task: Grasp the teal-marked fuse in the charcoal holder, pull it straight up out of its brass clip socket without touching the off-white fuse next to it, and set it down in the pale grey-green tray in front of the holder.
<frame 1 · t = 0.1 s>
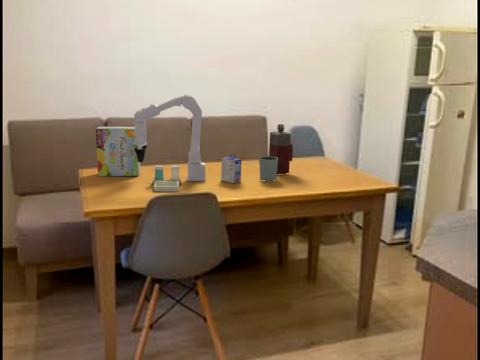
hand: (141, 160, 258), 10 cm above the table, tool pointing down, fingers open, 7 cm apart
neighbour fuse: (175, 181, 254), point 1 cm above the table, touching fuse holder
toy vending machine: (280, 173, 284), on the table
marked fuse: (159, 181, 253), point 1 cm above the table, touching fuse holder
tray: (166, 188, 244), on the table
snack box: (119, 175, 269), on the table
drinking glass: (267, 180, 267), on the table
ink cartridge box: (231, 181, 262), on the table
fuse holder: (167, 183, 254), on the table
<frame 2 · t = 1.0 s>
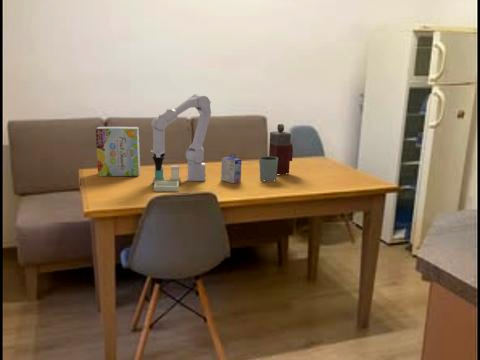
hand: (158, 168, 251), 8 cm above the table, tool pointing down, fingers open, 7 cm apart
nothing on the table moved.
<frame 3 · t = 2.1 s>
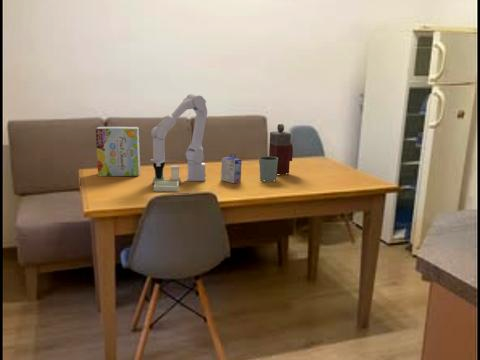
hand: (159, 177, 252), 3 cm above the table, tool pointing down, fingers closed on marked fuse, 3 cm apart
marked fuse: (159, 181, 253), point 1 cm above the table, touching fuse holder, gripper
everything else where it was.
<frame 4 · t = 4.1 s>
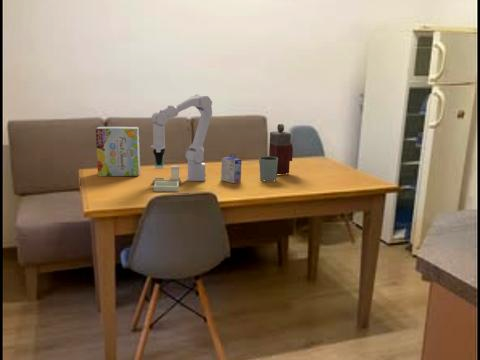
hand: (159, 164, 250), 10 cm above the table, tool pointing down, fingers closed on marked fuse, 3 cm apart
marked fuse: (159, 168, 251), point 8 cm above the table, touching gripper
everything else where it was.
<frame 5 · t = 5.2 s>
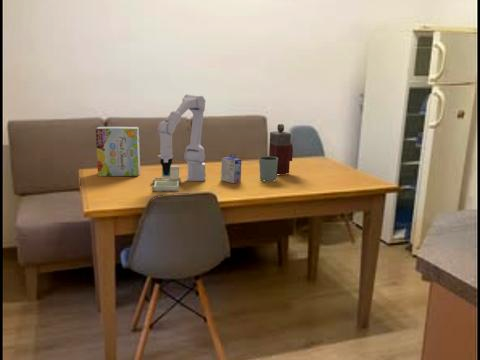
hand: (166, 174, 242), 7 cm above the table, tool pointing down, fingers closed on marked fuse, 3 cm apart
marked fuse: (166, 178, 243), point 5 cm above the table, touching gripper
everything else where it was.
when the fingers open (4 cm above the table, at t = 6.0 s): marked fuse drops 2 cm, resting on tray.
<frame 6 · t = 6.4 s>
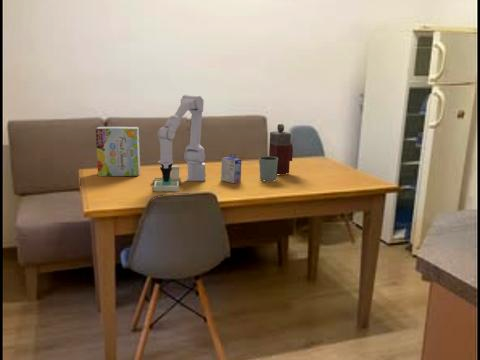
hand: (166, 179, 243), 4 cm above the table, tool pointing down, fingers open, 7 cm apart
marked fuse: (166, 187, 244), point 1 cm above the table, touching tray
everything else where it was.
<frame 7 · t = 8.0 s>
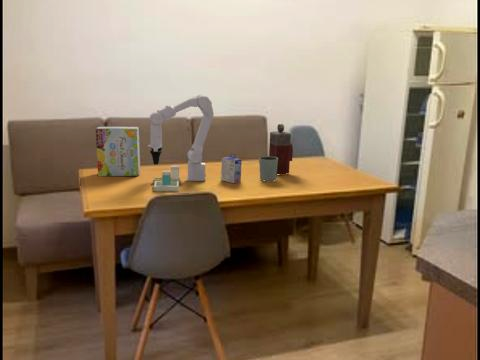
hand: (156, 162, 256), 9 cm above the table, tool pointing down, fingers open, 7 cm apart
nothing on the table moved.
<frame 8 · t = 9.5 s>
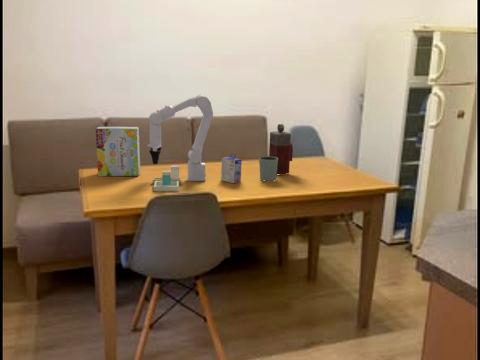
hand: (155, 162, 257), 9 cm above the table, tool pointing down, fingers open, 7 cm apart
nothing on the table moved.
at the end: marked fuse inside the target area on the tray (0.0 cm from its centre), point 0.6 cm above the tray's base; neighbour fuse moved 0.0 cm from its start; the gripper is holding nothing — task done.
